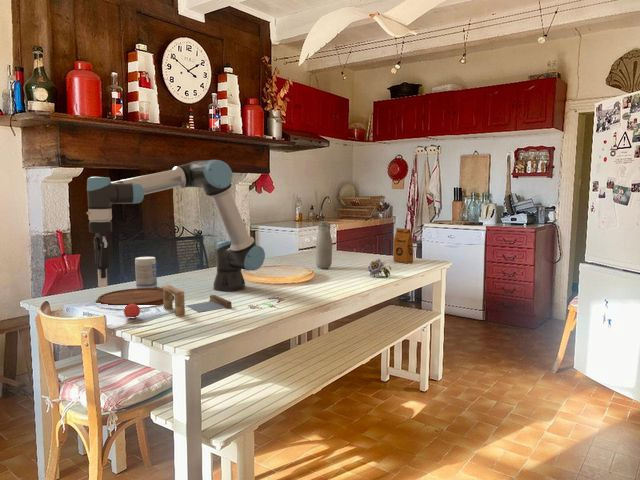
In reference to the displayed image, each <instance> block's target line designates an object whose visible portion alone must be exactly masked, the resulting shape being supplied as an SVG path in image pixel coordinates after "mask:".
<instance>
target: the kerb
mask: <svg viewBox="0 0 640 480" xmlns="http://www.w3.org/2000/svg"><path fill="white" fill-rule="evenodd" d="M210 301H212V302H214V303H216V304H219V305H221V306H223V307H225V308H224V309H227V310H229V309H232V304H233V303H232V301H230V300H228V299H225V298H223V297H222V296H218V295H216V294H210V295H209V302H210Z"/></svg>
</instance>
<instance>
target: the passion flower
mask: <svg viewBox="0 0 640 480" xmlns="http://www.w3.org/2000/svg"><path fill="white" fill-rule="evenodd" d="M381 260H382V259H381V258H378V259H376V260H373V261H371V262H370V263H369V265H368V266H367V268H365V271H367V272H370V273H369V276H371V277H372V278H374V277H375V276H377V277H378V276H379V275H381V276H383V275H382V272H383V273H384V276H385V278H387V279H388V277H389V276H391V272H390V271H392V267H391V266H390V265H389V266H386V265H385V264H387V262H386V261H384V262H383V261H381ZM387 268H389V269H387Z"/></svg>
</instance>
